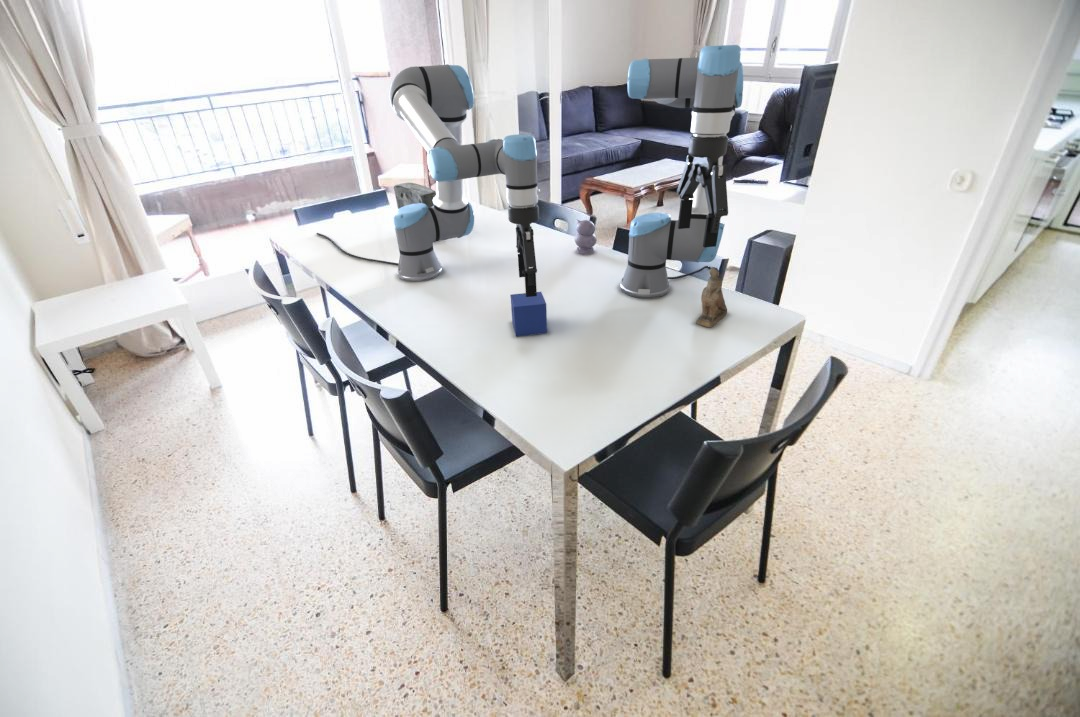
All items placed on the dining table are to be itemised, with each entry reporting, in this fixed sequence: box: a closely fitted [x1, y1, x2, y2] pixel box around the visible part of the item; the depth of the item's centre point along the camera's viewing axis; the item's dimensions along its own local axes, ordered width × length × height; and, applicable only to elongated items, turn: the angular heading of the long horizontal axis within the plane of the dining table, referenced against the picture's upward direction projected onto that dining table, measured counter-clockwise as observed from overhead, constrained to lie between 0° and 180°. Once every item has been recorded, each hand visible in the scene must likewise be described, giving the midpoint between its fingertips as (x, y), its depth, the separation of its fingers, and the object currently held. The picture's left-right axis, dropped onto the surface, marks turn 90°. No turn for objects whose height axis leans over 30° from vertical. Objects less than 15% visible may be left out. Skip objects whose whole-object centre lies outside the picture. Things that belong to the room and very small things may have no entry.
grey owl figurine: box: [574, 219, 598, 256], centre depth 186 cm, size 8×8×12 cm
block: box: [509, 291, 548, 338], centre depth 136 cm, size 9×8×9 cm
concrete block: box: [393, 182, 437, 210], centre depth 208 cm, size 27×9×20 cm, turn 36°
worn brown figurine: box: [695, 266, 728, 328], centre depth 135 cm, size 12×6×18 cm, turn 136°
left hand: (527, 286), depth 132 cm, fingers open, 13 cm apart
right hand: (695, 237), depth 112 cm, fingers open, 13 cm apart
